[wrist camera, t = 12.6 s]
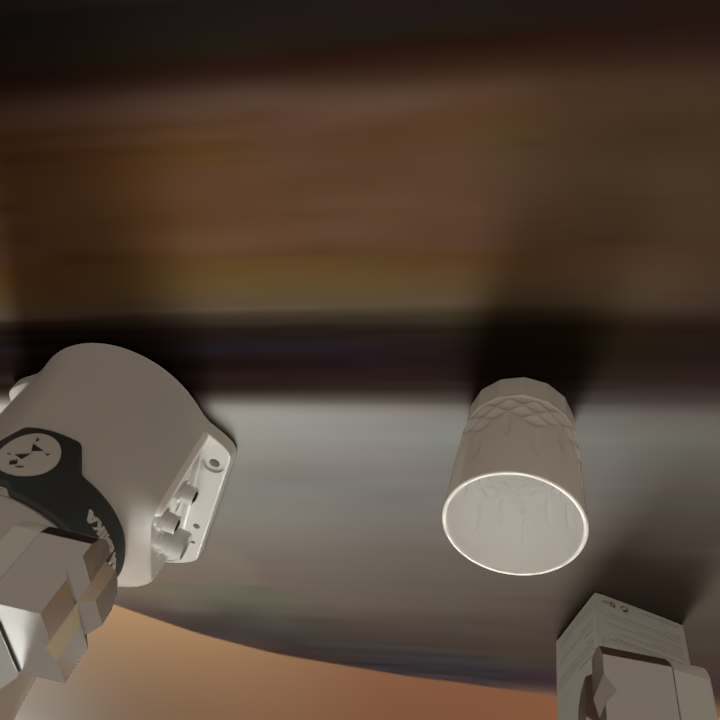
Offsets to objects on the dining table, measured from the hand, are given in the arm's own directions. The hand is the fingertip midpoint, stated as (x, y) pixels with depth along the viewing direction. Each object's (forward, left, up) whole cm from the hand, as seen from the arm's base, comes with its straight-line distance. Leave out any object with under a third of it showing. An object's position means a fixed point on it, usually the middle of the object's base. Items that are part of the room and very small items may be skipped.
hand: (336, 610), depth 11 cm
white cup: (-18, -7, -31) cm, 37 cm away
